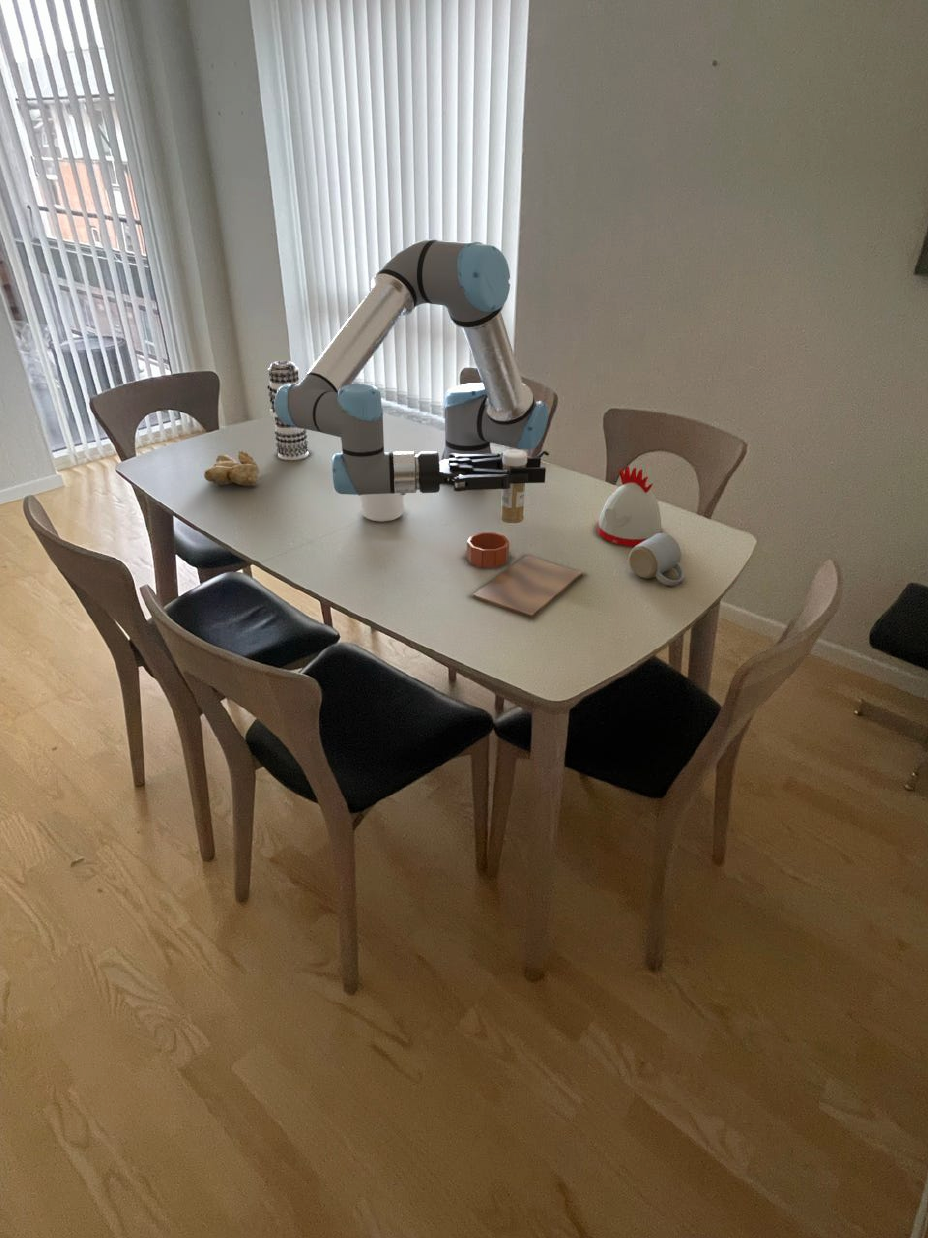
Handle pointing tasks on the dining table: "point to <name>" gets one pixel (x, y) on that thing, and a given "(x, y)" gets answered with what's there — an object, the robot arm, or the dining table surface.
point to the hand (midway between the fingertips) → (542, 469)
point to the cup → (382, 506)
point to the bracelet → (487, 550)
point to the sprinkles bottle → (513, 488)
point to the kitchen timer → (630, 512)
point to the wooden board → (528, 586)
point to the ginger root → (233, 470)
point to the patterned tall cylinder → (288, 436)
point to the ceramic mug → (657, 558)
